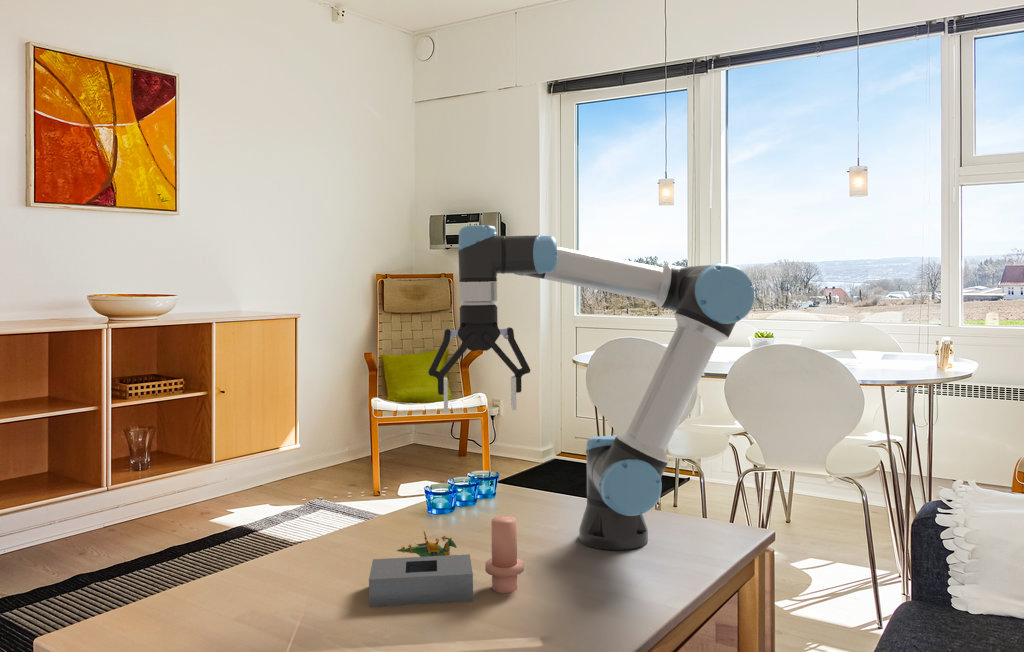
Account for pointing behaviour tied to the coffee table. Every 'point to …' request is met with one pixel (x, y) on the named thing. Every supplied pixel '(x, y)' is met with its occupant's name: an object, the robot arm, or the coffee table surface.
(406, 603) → the housing
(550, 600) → the coffee table surface
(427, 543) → the figurine
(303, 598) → the coffee table surface
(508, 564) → the flanged shaft
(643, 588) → the coffee table surface
